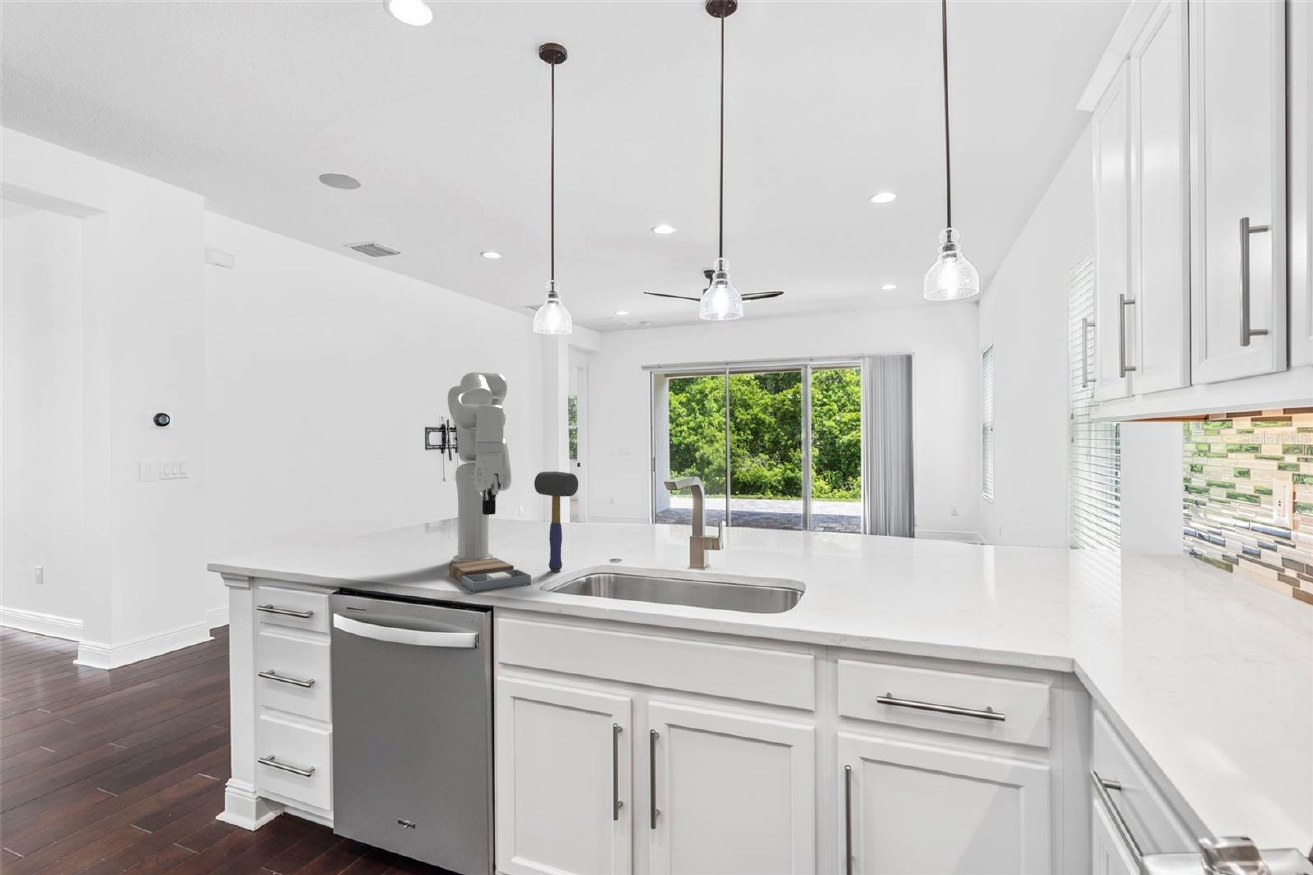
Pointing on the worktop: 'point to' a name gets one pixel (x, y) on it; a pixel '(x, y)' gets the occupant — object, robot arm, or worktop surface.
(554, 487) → the rubber mallet
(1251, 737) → the worktop surface
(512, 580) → the tray
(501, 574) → the cream tile
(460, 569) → the walnut board
